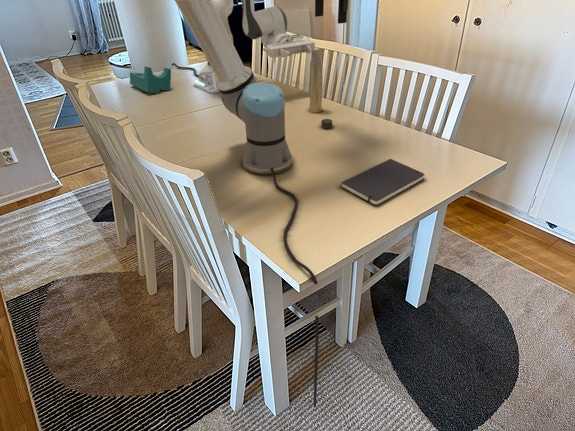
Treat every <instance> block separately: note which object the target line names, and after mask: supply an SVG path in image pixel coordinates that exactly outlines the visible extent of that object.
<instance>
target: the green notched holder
mask: <svg viewBox="0 0 575 431" xmlns="http://www.w3.org/2000/svg"><path fill="white" fill-rule="evenodd" d="M152 70H153V69H152V67H150V66H145V65H144V72H129V84H130V85H131V86H134V87H136V88H138V89H139V90H142V91H144V92H146V93H148V94H149V93H151V94H159V93H160V90H163V91H165V90H166V91H171V83H172V82H171V81H172V68H169V67H163V71H162V72H161V74H159V75H156V74H154V73H153V71H152Z"/></svg>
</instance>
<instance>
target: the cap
mask: <svg viewBox="0 0 575 431" xmlns="http://www.w3.org/2000/svg"><path fill="white" fill-rule="evenodd" d="M320 123H321V126H320V127H321V128H322V129H323V130H331V129H333V120H332V119H330V118H323V119H322V120H321V122H320Z"/></svg>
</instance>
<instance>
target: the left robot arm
mask: <svg viewBox="0 0 575 431" xmlns="http://www.w3.org/2000/svg"><path fill="white" fill-rule="evenodd" d="M212 2H213V4H214V6H215V8H216V10H217V12H218V14H219V16H220V18H221V20H222V23H223V25H224V27H225V29H226V31H227V33H228V35H229V37H230V39H231V41H232V43H233V44H234V37H233V33H232V31H231V29H230V25H229V20H228V17H229V16H231V14H232V12H233V9H234V0H212ZM241 7H242V18H241V20H242V21H241V22H242V30H243V34H244V35H245V37H248V38H250V39H251V40H254V41H255V40H257V39H260V42H261V45H262V46H263V48H262V51H263V52H265V53H266V55H267V56H268V57H269V58H288V57H291V56H292V55H299V54H305V53H306V54H311V53H313V49H315V47H316V46H315V45H316V44H315V41H314V40H312V39H310V38H307V37H304V35H302V34H290V33H287V32H288V19H287V18H288V17H287V15H286V13H285V12H284V10H283V9H282V8H280V7H279V6H278V5H273V6H270V7H266V8H263V9H260V10H259V9H258V10H256V11H255V0H241ZM204 58H205V61H207V62H206V65H205V66H204V67H203V68H202V69H201V70H200V71H199V72H198V74H197V70H196V68H194V67H189V66H179V65H177V63H175V62H172V63H171V67H175V68H177V69H181V70H192V71H193V74H194V76H196V77H197V78H198V80H197V79H195V80H194V87H195V88H198V89H200V90H202V91H206V92H208V93H210V94H214V93H215V94H216V93H220V92H219V90H218V88H217V82H218V78H217V76H216V74H215V72H214V70H213V69H212V67H211V65H210V63H209V61H208V60H207V58H206V56H205V57H204Z"/></svg>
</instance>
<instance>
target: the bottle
mask: <svg viewBox="0 0 575 431" xmlns="http://www.w3.org/2000/svg"><path fill="white" fill-rule="evenodd" d="M321 51H322V50H321V48H319V47H318V48H315V49H313V51H312V57H311V61H310V62H309V112H311V113H315V114H316V113H317V114H318V113H320V112H322V108H323V107H322V106H323V70H324V69H323V68H324V66H323V64H324V63H323V60H322V57H321Z"/></svg>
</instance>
